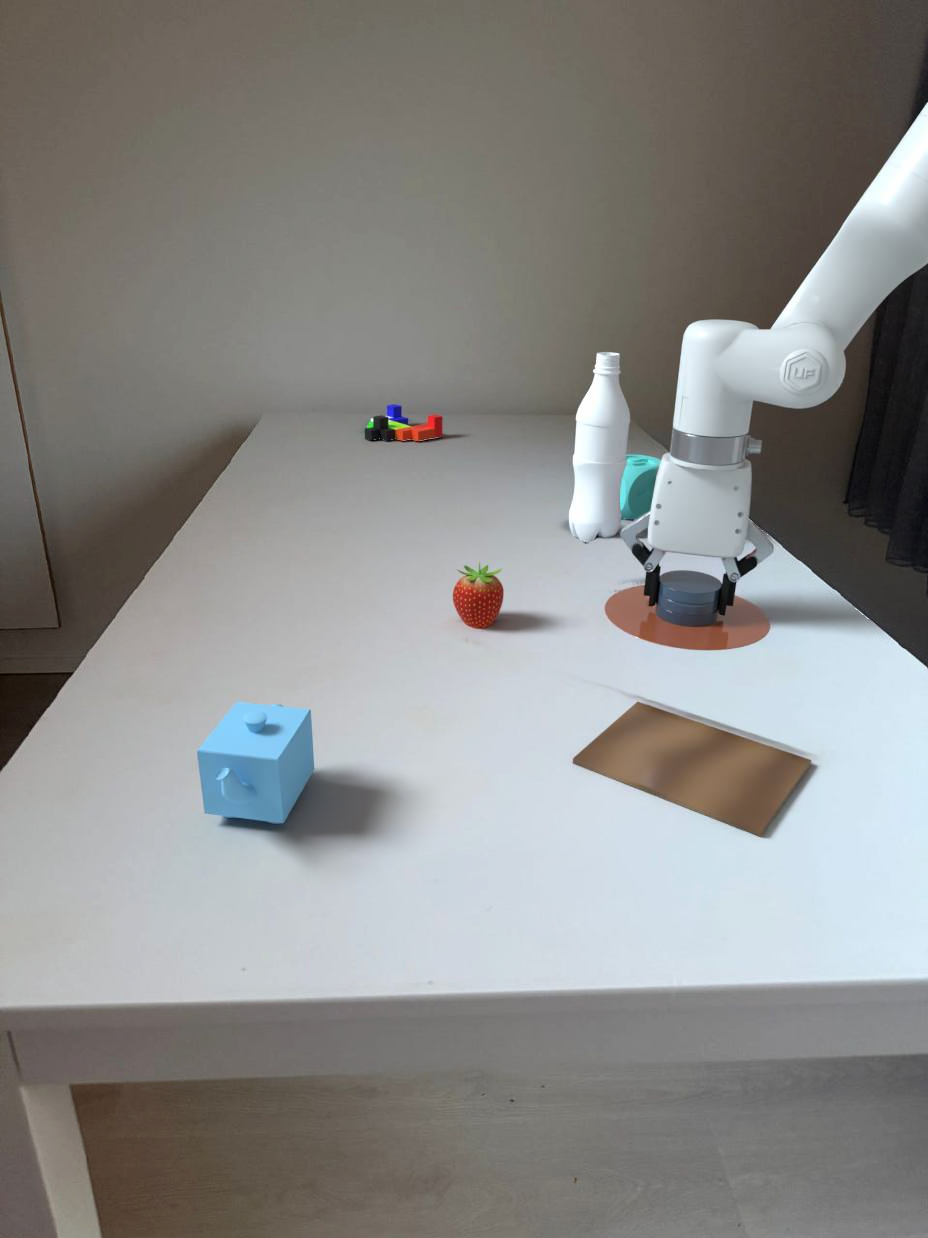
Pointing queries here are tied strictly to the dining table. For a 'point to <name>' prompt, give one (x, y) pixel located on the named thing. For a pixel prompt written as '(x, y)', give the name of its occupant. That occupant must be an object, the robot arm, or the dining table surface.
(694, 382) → the robot arm
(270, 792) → the teapot
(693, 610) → the round container
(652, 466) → the turquoise rounded block
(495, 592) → the fruit
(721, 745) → the placemat
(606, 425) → the water bottle
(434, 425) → the building blocks
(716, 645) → the orange-brown round disc
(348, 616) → the dining table surface
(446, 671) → the dining table surface
